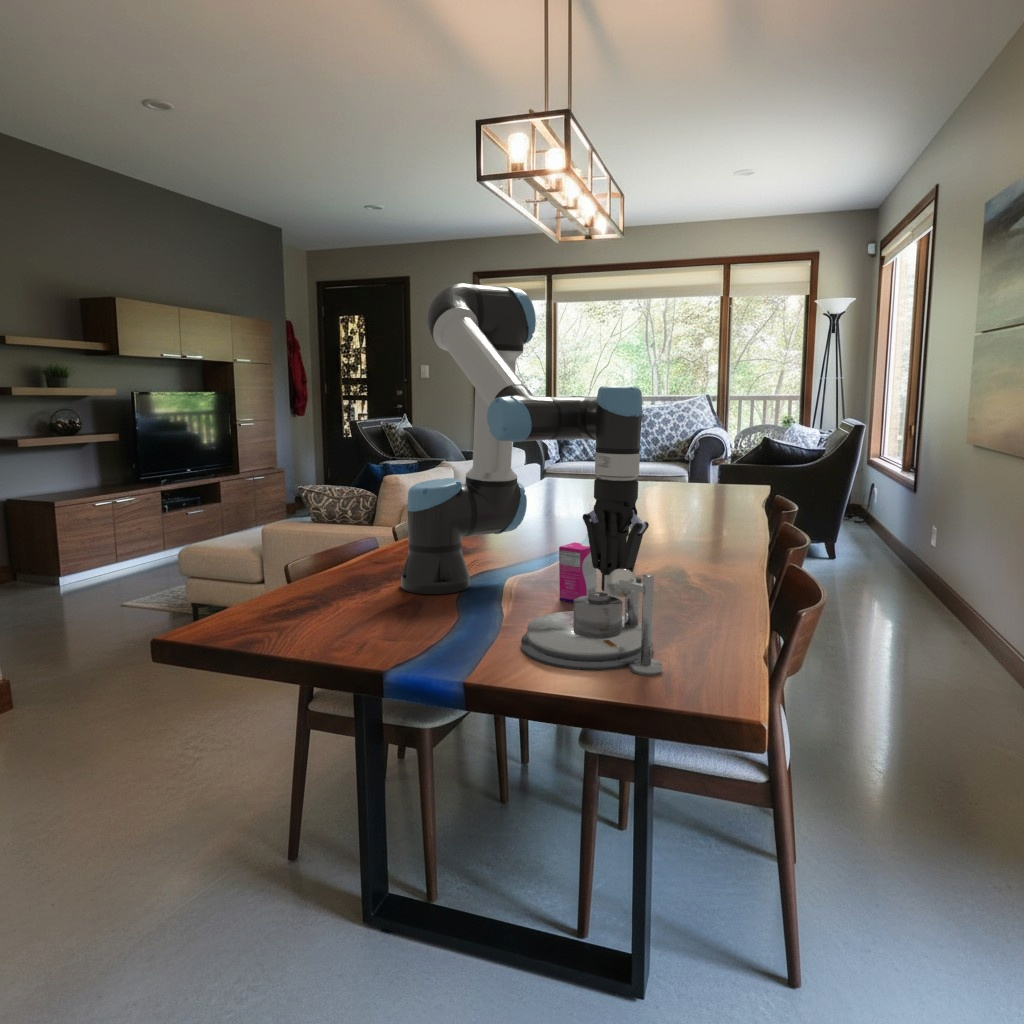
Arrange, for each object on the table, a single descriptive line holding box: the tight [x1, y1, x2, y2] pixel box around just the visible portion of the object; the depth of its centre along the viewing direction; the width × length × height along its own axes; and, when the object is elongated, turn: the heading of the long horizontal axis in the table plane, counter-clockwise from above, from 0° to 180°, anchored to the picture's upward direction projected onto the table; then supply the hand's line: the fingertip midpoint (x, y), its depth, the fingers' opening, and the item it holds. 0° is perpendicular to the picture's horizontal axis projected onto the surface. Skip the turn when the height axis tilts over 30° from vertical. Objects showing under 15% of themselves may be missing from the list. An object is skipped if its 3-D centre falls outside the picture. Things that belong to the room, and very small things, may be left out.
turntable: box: [526, 576, 643, 660], centre depth 126 cm, size 20×20×10 cm
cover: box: [573, 591, 623, 638], centre depth 125 cm, size 8×8×6 cm
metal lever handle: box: [607, 568, 663, 677], centre depth 117 cm, size 10×5×15 cm, turn 64°
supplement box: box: [558, 542, 598, 604], centre depth 156 cm, size 6×6×12 cm
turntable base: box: [520, 632, 654, 672], centre depth 127 cm, size 22×22×1 cm
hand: (610, 610), depth 133 cm, fingers closed
